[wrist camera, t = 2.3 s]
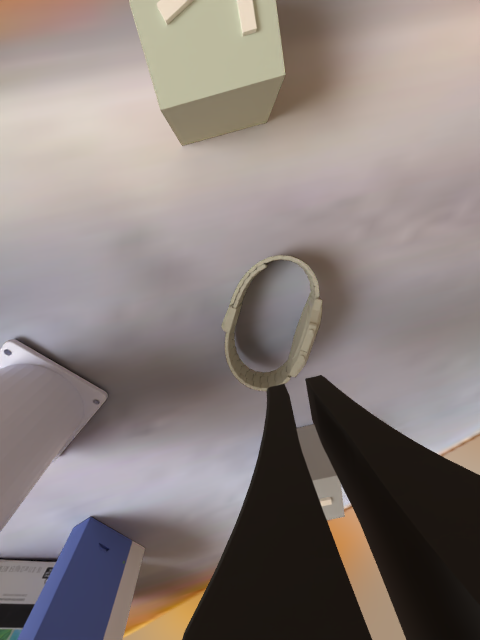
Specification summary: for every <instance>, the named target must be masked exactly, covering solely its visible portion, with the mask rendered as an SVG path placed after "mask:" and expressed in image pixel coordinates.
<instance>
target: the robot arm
mask: <svg viewBox="0 0 480 640" xmlns="http://www.w3.org/2000/svg"><path fill="white" fill-rule="evenodd" d="M9 350H10V351H11V352H12V353H11V352H10V351H9ZM306 385H307V391H308V397H309V403H310V409H311V415H312V420H313V423H314V425H315V428H316V431H317V433H318V436H319V439H320V441H321V444H322V446H323V448H324V450H325V452H326V454H327V456H328V458H329V461H330V463H331V465H332V467H333V469H334V471H335V473H336V475H337V477H338V479H339V481H340V483H341V485H342V487H343V489H344V491H345V493H346V495H347V497H348V499H349V501H350V503H351V505H352V507H353V509H354V511H355V513H356V515H357V518H358V520H359V522H360V524H361V527H362V529H363V531H364V534H365V536H366V539H367V541H368V544H369V546H370V549H371V551H372V553H373V556H374V558H375V561H376V564H377V566H378V568H379V571H380V574H381V576H382V578H383V581H384V584H385V586H386V588H387V591H388V593H389V596H390V599H391V601H392V604H393V606H394V609H395V612H396V614H397V616H398V619H399V622H400V624H401V627H402V630H403V632H404V635H405V637H406V640H480V475H478V474H476V473H474V472H472V471H470V470H468V469H466V468H464V467H462V466H460V465H458V464H456V463H454V462H452V461H450V460H448V459H446V458H444V457H442V456H440V455H438V454H436V453H434V452H433V451H431V450H429V449H427V448H425V447H424V446H422V445H420V444H418V443H417V442H415V441H413V440H412V439H410V438H408V437H407V436H405V435H403V434H402V433H400V432H398V431H397V430H395V429H394V428H392V427H391V426H389V425H387V424H386V423H384V422H383V421H381V420H380V419H378V418H377V417H375V416H374V415H373V414H371V413H370V412H368V411H367V410H366V409H364V408H363V407H361V406H360V405H359V404H357V403H356V402H355V401H353V400H352V399H351V398H349V397H348V396H347V395H345V394H344V393H343V392H342V391H340V390H339V389H338V388H337V387H335V386H334V385H333V384H332V383H331V382H329V381H328V380H327V379H326V378H325V377H323V376H322V375H320V376H316V377H311V378H307V379H306ZM107 397H108V394H107V393H106V392H105V391H104V390H102V389H100V388H98V387H97V386H95V385H93V384H91V383H90V382H88V381H86V380H85V379H83V378H81V377H79V376H78V375H76V374H74V373H72V372H71V371H69V370H67V369H66V368H64V367H62V366H60V365H59V364H57V363H55V362H53V361H52V360H50V359H48V358H47V357H45V356H43V355H41V354H40V353H38V352H36V351H34V350H33V349H31V348H29V347H28V346H26V345H24V344H22V343H21V342H19V341H17V340H14V339H11V340H8V341H7V342H5V343H4V345H3V346H2V348H1V349H0V532H1V530H2V529H3V528H4V526H5V525H6V524H7V522H8V521H9V519H10V518H11V517H12V515H13V514H14V513H15V511H16V510H17V509H18V507H19V506H20V504H21V503H22V502H23V500H24V499H25V498H26V496H27V495H28V494H29V492H30V491H31V489H32V488H33V487H34V485H35V484H36V483H37V481H38V480H39V479H40V477H41V476H42V474H43V473H44V472H45V470H46V469H47V468H48V466H49V465H50V464H51V462H54V461H55V460H56V459H57V458H58V457H59V456H60V454H61V453H62V452H63V451H64V450H65V448H66V447H67V446H68V445H69V444H70V442H71V441H72V440H73V439H74V438H75V436H76V435H77V434H78V433H79V432H80V430H81V429H82V428H83V427H84V426H85V425H86V423H87V422H88V421H89V420H90V419H91V417H92V416H93V415H94V414H95V413H96V411H97V410H98V409H99V408H100V407H101V405H102V404H103V403H104V402H105V401H106V399H107ZM96 399H97V400H99V401H97V400H96ZM182 640H372V638H371V635H370V633H369V630H368V628H367V625H366V623H365V620H364V617H363V615H362V612H361V610H360V607H359V605H358V602H357V599H356V597H355V594H354V591H353V589H352V586H351V584H350V581H349V578H348V576H347V573H346V571H345V568H344V565H343V563H342V560H341V557H340V555H339V552H338V549H337V547H336V544H335V541H334V539H333V536H332V533H331V531H330V528H329V525H328V522H327V520H326V517H325V514H324V512H323V509H322V506H321V503H320V501H319V498H318V495H317V492H316V489H315V487H314V484H313V481H312V478H311V475H310V473H309V470H308V467H307V464H306V461H305V458H304V456H303V453H302V449H301V446H300V442H299V438H298V433H297V429H296V424H295V420H294V415H293V410H292V406H291V401H290V397H289V394H288V391H287V389H286V387H285V384H281V385H276V386H272V387H269V388H268V389H267V411H266V419H265V426H264V432H263V437H262V442H261V446H260V451H259V455H258V459H257V463H256V466H255V470H254V473H253V476H252V480H251V483H250V486H249V489H248V492H247V495H246V497H245V500H244V503H243V506H242V509H241V511H240V514H239V517H238V519H237V522H236V524H235V527H234V529H233V531H232V534H231V536H230V538H229V540H228V543H227V545H226V547H225V550H224V552H223V554H222V557H221V559H220V561H219V563H218V566H217V568H216V570H215V572H214V574H213V576H212V578H211V580H210V582H209V584H208V586H207V588H206V590H205V592H204V594H203V597H202V598H201V600H200V602H199V604H198V607H197V608H196V610H195V612H194V614H193V616H192V618H191V620H190V622H189V624H188V626H187V628H186V630H185V633H184V636H183V639H182Z"/></svg>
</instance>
